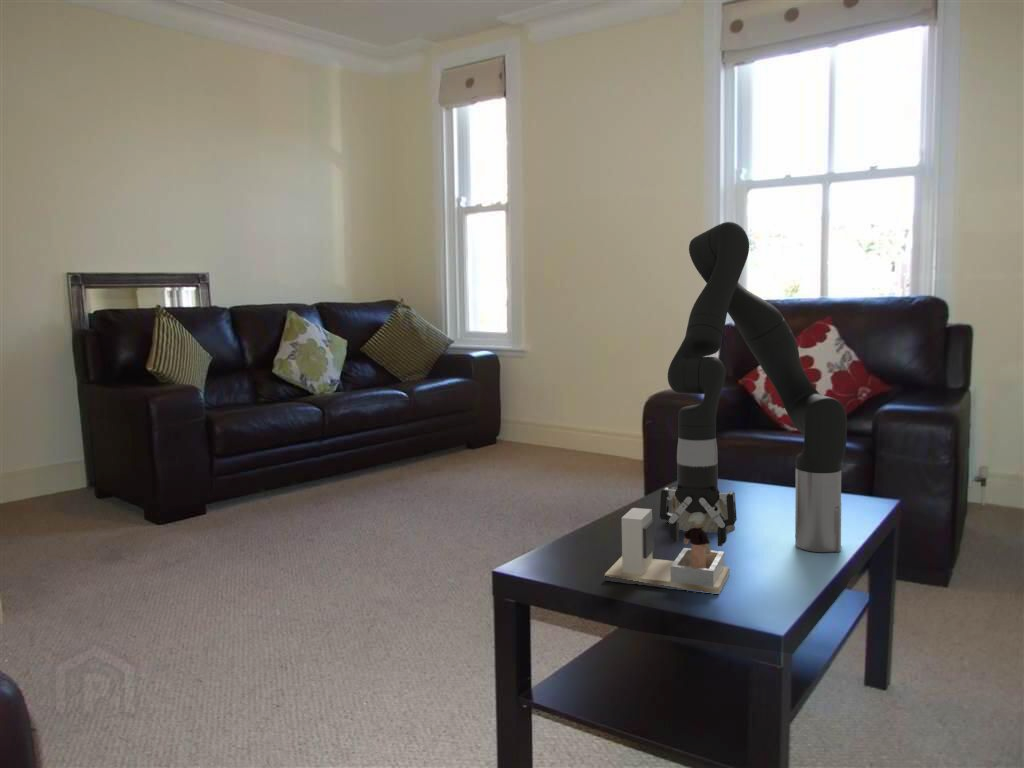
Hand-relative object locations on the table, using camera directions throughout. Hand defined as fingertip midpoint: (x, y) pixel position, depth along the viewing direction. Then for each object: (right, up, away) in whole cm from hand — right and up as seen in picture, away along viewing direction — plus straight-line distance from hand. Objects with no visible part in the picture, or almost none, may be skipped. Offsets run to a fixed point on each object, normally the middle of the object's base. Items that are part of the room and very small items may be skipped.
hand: (697, 543), depth 153 cm
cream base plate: (-5, -8, +3) cm, 10 cm away
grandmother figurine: (0, -6, 0) cm, 6 cm away
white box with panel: (-10, -6, +5) cm, 13 cm away
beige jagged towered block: (+10, -4, +40) cm, 42 cm away
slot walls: (0, -6, +1) cm, 6 cm away
